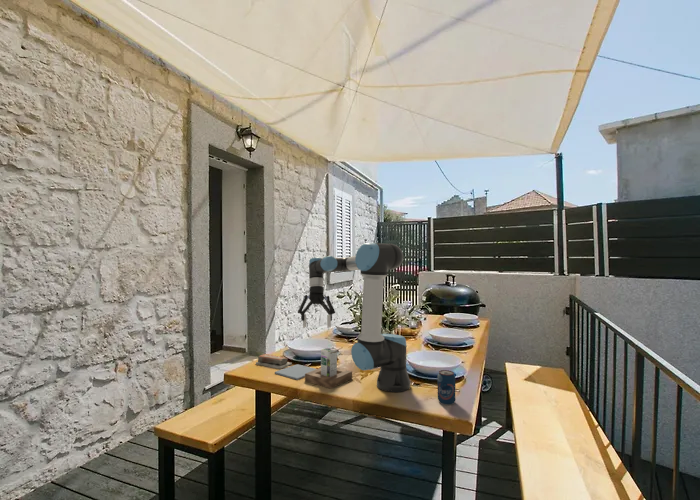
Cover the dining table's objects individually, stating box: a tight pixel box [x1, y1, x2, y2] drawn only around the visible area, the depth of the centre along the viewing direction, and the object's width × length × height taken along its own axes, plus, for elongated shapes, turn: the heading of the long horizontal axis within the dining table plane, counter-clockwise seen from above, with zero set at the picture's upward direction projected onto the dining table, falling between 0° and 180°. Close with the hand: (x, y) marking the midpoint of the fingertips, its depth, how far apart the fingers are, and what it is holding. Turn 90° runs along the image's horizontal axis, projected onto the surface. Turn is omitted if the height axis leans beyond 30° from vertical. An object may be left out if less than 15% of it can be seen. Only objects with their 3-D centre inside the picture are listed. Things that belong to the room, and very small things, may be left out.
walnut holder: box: [304, 367, 353, 389], centre depth 167 cm, size 16×16×4 cm
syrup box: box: [320, 347, 338, 377], centre depth 167 cm, size 6×6×14 cm
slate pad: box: [274, 363, 317, 381], centre depth 178 cm, size 16×16×1 cm
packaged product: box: [255, 353, 293, 370], centre depth 191 cm, size 18×5×10 cm
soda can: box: [437, 369, 456, 406], centre depth 141 cm, size 7×7×12 cm
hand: (317, 327), depth 179 cm, fingers open, 13 cm apart
